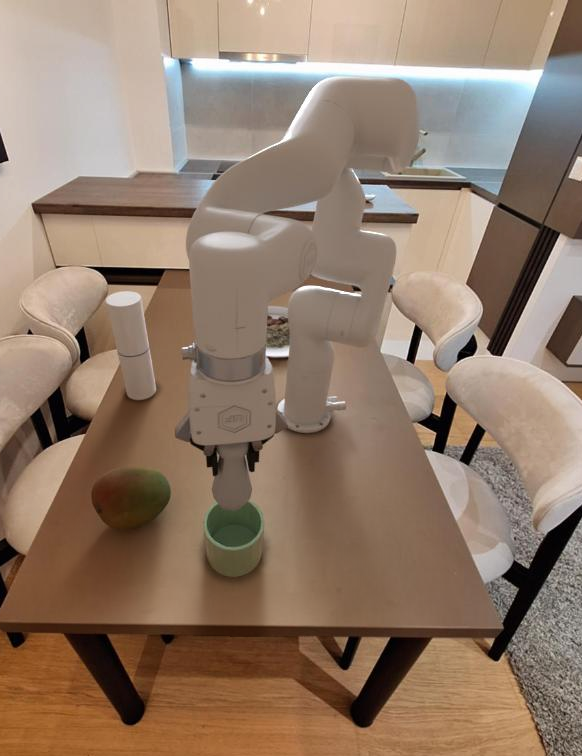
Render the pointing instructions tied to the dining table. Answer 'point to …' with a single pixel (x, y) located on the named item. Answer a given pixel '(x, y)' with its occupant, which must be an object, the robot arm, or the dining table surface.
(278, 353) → the plated food
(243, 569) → the cup
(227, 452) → the salt shaker
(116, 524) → the fruit
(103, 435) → the dining table surface
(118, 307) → the cylindrical container
